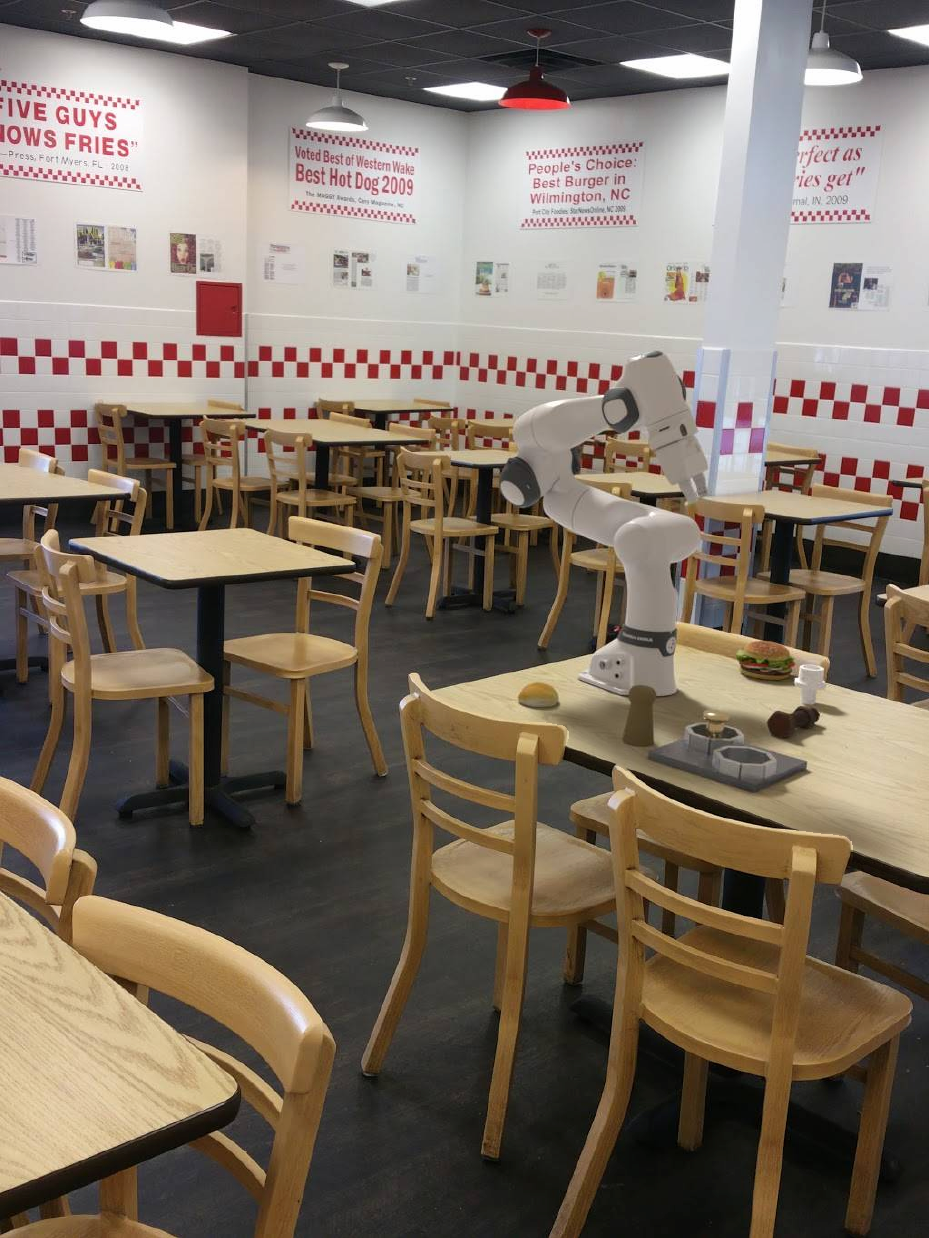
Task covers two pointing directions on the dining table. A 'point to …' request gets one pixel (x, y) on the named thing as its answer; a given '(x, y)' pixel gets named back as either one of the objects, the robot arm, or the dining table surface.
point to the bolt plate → (726, 755)
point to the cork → (640, 717)
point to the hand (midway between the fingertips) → (699, 499)
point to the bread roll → (538, 695)
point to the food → (765, 660)
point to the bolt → (792, 721)
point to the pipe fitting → (810, 682)
